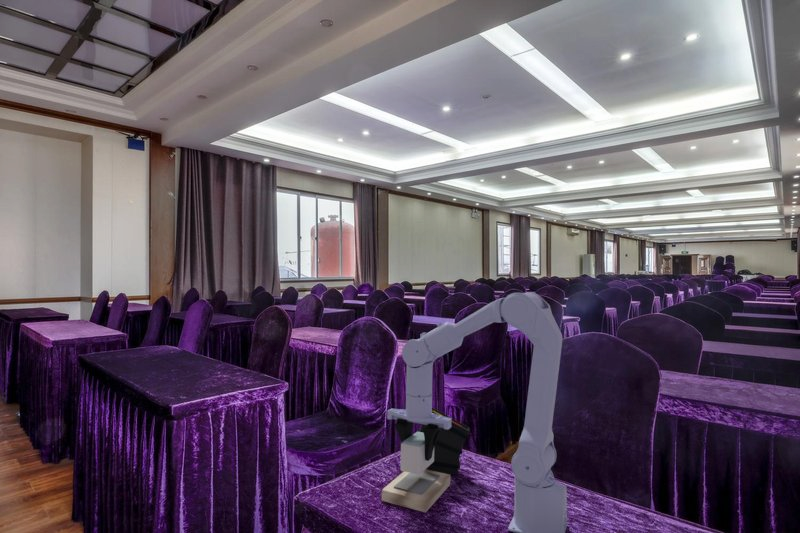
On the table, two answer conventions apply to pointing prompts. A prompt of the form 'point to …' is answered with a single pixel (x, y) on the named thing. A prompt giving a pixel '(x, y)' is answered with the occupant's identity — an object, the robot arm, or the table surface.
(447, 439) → the magazine
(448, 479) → the stand
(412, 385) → the robot arm
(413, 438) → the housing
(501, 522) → the table surface
